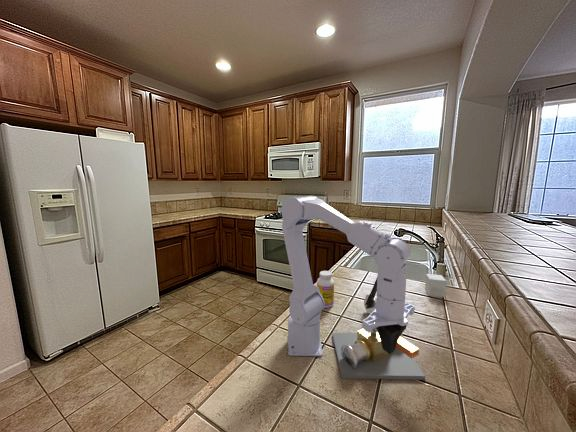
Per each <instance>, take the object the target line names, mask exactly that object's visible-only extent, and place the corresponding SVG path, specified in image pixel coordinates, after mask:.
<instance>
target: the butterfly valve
mask: <svg viewBox="0 0 576 432" xmlns="http://www.w3.org/2000/svg"><path fill="white" fill-rule="evenodd" d="M376 299H377V278H376V279H375V281H374V283H373V287H372V289H371V291H370V293H369V294H365V298H364V300H363V305H364V309H365V311H366V312H367V314H368V316H369V315H370V314H371V313H372V312H373V311H374V310H375V309H376Z"/></svg>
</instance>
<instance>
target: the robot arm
mask: <svg viewBox="0 0 576 432" xmlns="http://www.w3.org/2000/svg"><path fill="white" fill-rule="evenodd" d="M280 210H281V216H282V222H281V223H282V225H281V229H282V234H283V239H284V244H285V249H286V253H287V259H288V264H289V270H290V274H291V279H292V283H293V289H292V291H291V294H290V295H289V297H288V299H289V307H288V308H289V310H288V313H289V317H288V318H287V319H288V320H287V338H286V339H287V344H288V345H287V347H288V349H287V350H288V353H287V355H288V356H291V357H293V356H295V357H301V356H302V357H323V350H322V347H323V346H322V342H321V341H322V340H321V331H320V330H321V316H322V315H321V312H322V311H323V310H324V306H325V302H324V299H323V297H322V295H321V294H320V291H319V287H317V284H314V282H313V277H312V273H311V269H310V263H309V259H308V252H307V248H306V243H305V238H304V235H303V233H304V232H303V230H304V228H305V227H306V225H308V224H309V222H310V221H311V220H320V221H321V222H324V223H326V224H327V225H329V226H331V227H332V228H335V229H336V230H338V231H340V232H341V233H343V234H345V235H346V238H347V241H348V243H350V244H352V245H353V246H355V247H356V248H358V249H359V250H361V251H363V253H365V254H367V255H368V256H370V257H372V258H373V260H374V262H375V264H376V265H377V269H378V270H377V277H376V279H377V292H376V297H377V299H376V309H375V310H374V311H373V312H372V313H371V314H370V315H369V314H368V316H367V317H365V318H364V319H363V320H362V321H361V323H362V325H361V329H364V330H365V331H366V332H368V333H371V332H372V329H374V328H376V329H377V331H378V334H379V336H380V340H381V344H382V348H383V350H385V351H386V352H387V353H389V354H391V353H393V352H394V350H395V347H396V345H397V342H398V340H399V338H400V336H401V334H403V333H404V331H406V329H407V326H408V324H409V320H408V319H407V318H408V317H409V315H410V316H412V315H415V308H416V307H415V305H413V304H411V303H409V302H406V289H407V261H408V260H409V258H410V256H411V248H410V246H409V244H408V243H407V242H406V241H404V240H403V239H402V238H401V237H392V234H389V233H384V232H382V231H380V230H379V229H377V228H374V227H373V226H372V225H373V224H372V222H370V221H363V220H359V221H356V222H354V221H353V220H351V219H350V218H348V217H347V216H345V215H344V214H343V213H340V211H338V210H336V209H335V208H333V207H332V206H330V205H329V204H328V203H326V202H325V201H324V199H321V198H318V197H317V196H315V195H306V196H296V197H293V196H291V197H288V198H287V199H286V200H285V201H284V202H283V204H282V205H281V207H280Z"/></svg>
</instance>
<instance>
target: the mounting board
mask: <svg viewBox="0 0 576 432" xmlns="http://www.w3.org/2000/svg"><path fill="white" fill-rule="evenodd" d="M332 339H333V341H332V342H333V343H334V344H333V345H334V349H335V355H336V358H337V362H338V367H339V371H340V377H341V379H358V380H359V379H362V380H363V379H364V380H365V379H367V380H371V379H372V380H374V379H375V380H419V381H420V380H423V381H424V380H426V375H425V374H424V371H423V370H422V369H421V367H420V366H419V364H418V363H417V361H416V359H415V357H414V358H412V359H411V358H410V357H409V356H407V355H406V354H404V353H403V352H401V351H400V350H399V349H397V348H396V347H395V350H394V352H393V353H391V354H389V355H388V356H386V357H384V358H382V359H380V360H378V361H376V362H374V363H373V362H372V361H371V360H370V359H369V360H367V361H364V360H362V361H360V362H358V366H357V367H356V368H354V369H353V368H352V367H351V366H350V365H349V364H348V363H347V362H346V361H345V360H344V359H343V358H342V354H341V347H342V346H343V345H345V344H348V345H350V346H351V345H354V343H355V341H357V332H332Z"/></svg>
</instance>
